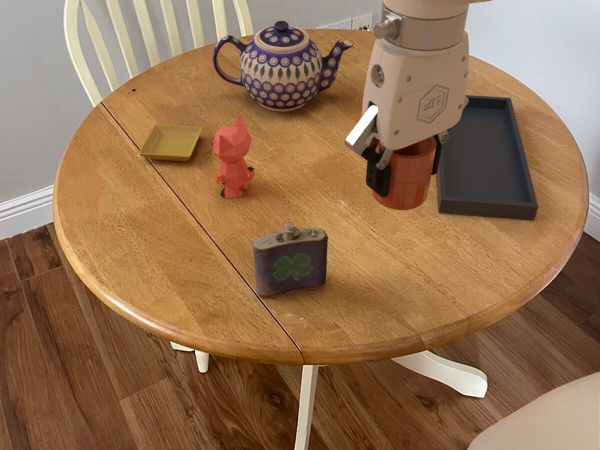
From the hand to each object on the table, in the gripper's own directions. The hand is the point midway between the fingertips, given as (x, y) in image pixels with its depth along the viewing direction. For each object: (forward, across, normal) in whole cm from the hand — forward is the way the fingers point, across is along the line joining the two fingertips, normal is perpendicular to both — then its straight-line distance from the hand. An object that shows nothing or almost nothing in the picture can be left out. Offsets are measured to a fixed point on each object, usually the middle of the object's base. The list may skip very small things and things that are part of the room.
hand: (401, 178), depth 65 cm
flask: (+17, -11, +6) cm, 21 cm away
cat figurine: (+17, -8, +27) cm, 33 cm away
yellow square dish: (+17, -11, +42) cm, 47 cm away
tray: (+17, +29, +13) cm, 36 cm away
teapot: (+17, +13, +46) cm, 51 cm away
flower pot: (+2, 0, 0) cm, 2 cm away
